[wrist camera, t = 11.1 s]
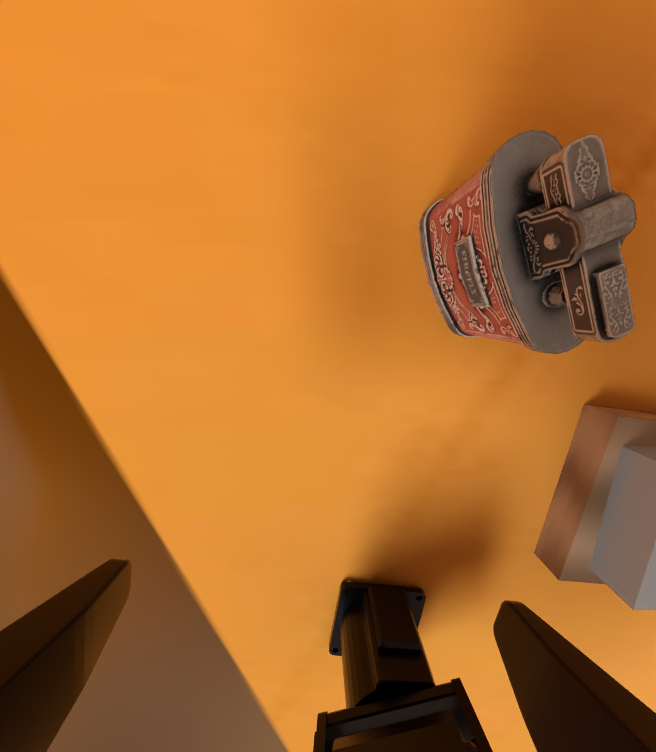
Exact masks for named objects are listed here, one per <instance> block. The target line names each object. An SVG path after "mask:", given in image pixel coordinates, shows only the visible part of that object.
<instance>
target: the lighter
mask: <svg viewBox="0 0 656 752" xmlns="http://www.w3.org/2000/svg"><path fill="white" fill-rule="evenodd" d="M636 220H637V217H636V210H635V203H634V201H633V200H632V199H631V197H630V196H628V195H627V194H625V193H620V192H617V191H616V190H615V189H614V188H613V187H611V184H610V178H609V172H608V166H607V160H606V154H605V148H604V145H603V141H602V140H601V138H600V137H599V136H597V135H593V134H592V135H588V136H584V137H582V138H579V139H577V140H576V141H574V142H572V143H571V144H569V145H567V146H566V147H564V148H562V146H561V144H560V143H559V141H558V140H557V139H556V137H554V136H553V135H551V134H549V133H547V132H546V131H538V130H531V131H527V132H523V133H520V134H518V135H516V136H515V137H513V138H511V139H510V140H508V141H507V142H506V143H505V144H503V145H502V146H501V147H500V148H499V149H498V150H496V151H495V152H494V154H493V155H492V156H491V157H490V158H489V159H488V160H487V162H486V164H485V166H484V167H483V168H482V169H481V170H480V171H478V172H477V173H476V174H475V175H473V176H472V177H471V178H470V179H469V180H467V181H466V182H465V183H464V184H462V185H461V186H460V187H459V188H457V189H456V190H455V191H454V192H453V193H451V194H450V195H449V196H448V197H446V198H443V199H440V200H439V201H437V202H435V203H434V204H433V205H431V206H430V207H429V208H428V209H427V210H426V211H425V212H424V214H423V215H422V217H421V220H420V223H419V233H420V241H421V250H422V257H423V262H424V266H425V270H426V274H427V279H428V283H429V286H430V288H431V291H432V293H433V296H434V298H435V301H436V303H437V306H438V308H439V310H440V312H441V314H442V316H443V317H444V319H445V321H446V323H447V325H448V327H449V329H450V330H451V331H452V332H453V333H455V334H457V335H459V336H464V337H476V336H481V337H486V338H492V339H497V340H503V341H508V342H514V343H519V344H523V345H524V346H525V347H527V348H529V349H531V350H533V351H538V352H543V353H552V354H558V353H562V352H566V351H569V350H571V349H573V348H574V347H576V346H578V345H579V344H580V343H581V342H582V341H583V340H589V341H597V342H605V343H609V342H613V341H616V340H618V339H621V338H622V337H624V336H626V335H627V334H628V333H629V332H631V331H632V330H633V328H634V315H633V309H632V303H631V297H630V291H629V285H628V278H627V272H626V266H625V263H623V258H622V252H621V244H622V242H623V241H624V238H625V237H626V236H627V235H628V234H629V233H630V232H631V231H632V230H633V228H634V226H635V223H636Z"/></svg>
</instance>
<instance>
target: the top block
mask: <svg viewBox="0 0 656 752" xmlns="http://www.w3.org/2000/svg"><path fill="white" fill-rule="evenodd" d="M589 568H590V569H591V570H592V571H593V572H594V573H595V574H596V575H597V576H598V577H599V578H600V579H601V580H602V581H603V582H604V583H605V584H606V585H608V586H609V587H610V588H611V589H612V590H613V591H614V592H615V593H616V594H617V595H618V596H619V597H620V598H621V599H622V600H623V601H624V602H625V603H627V604H628V605H629V606H630V607H631V608H632V609H633V610H656V447H638V446H622V448H621V452H620V455H619V459H618V463H617V467H616V470H615V474H614V478H613V481H612V485H611V489H610V492H609V496H608V500H607V503H606V507H605V511H604V514H603V518H602V522H601V526H600V529H599V533H598V537H597V540H596V544H595V548H594V551H593V555H592V559H591V562H590V566H589Z"/></svg>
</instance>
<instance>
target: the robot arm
mask: <svg viewBox="0 0 656 752" xmlns="http://www.w3.org/2000/svg"><path fill="white" fill-rule="evenodd" d="M131 570H132V563H131V561H130V560H128V559H120V558H112V559H109V560H107V561H106V562H104V563H103V564H101V565H100V566H98V567H96V568H95V569H93V570H92V571H90V572H89V573H87V574H86V575H84V576H83V577H81V578H80V579H78V580H77V581H75V582H74V583H72V584H71V585H69V586H68V587H66V588H65V589H63V590H61V591H60V592H58V593H57V594H55V595H54V596H52V597H51V598H49V599H48V600H46V601H45V602H43V603H41V604H40V605H38V606H37V607H35V608H34V609H32V610H31V611H29V612H28V613H26V614H25V615H23V616H22V617H20V618H19V619H17V620H16V621H14V622H13V623H11V624H9V625H8V626H7V627H5V628H3V629H2V630H0V752H47V750H48V749H49V747H50V745H51V744H52V742H53V740H54V739H55V737H56V735H57V733H58V732H59V730H60V728H61V727H62V725H63V723H64V722H65V720H66V718H67V716H68V715H69V713H70V711H71V709H72V708H73V706H74V705H75V703H76V701H77V699H78V697H79V696H80V694H81V692H82V690H83V689H84V687H85V685H86V683H87V681H88V679H89V677H90V675H91V673H92V671H93V669H94V667H95V665H96V663H97V660H98V659H99V657H100V654H101V653H102V651H103V649H104V646H105V644H106V642H107V640H108V638H109V636H110V634H111V632H112V630H113V628H114V626H115V624H116V622H117V620H118V618H119V616H120V614H121V612H122V610H123V608H124V605H125V604H126V601H127V599H128V596H129V593H130V587H131ZM347 589H348V590H347ZM425 599H426V596H425V594H424V591H423V590H422V589H420V588H412V587H400V586H389V585H377V584H365V583H354V582H345V583H343V584H342V585H341V586H340V591H339V596H338V601H337V606H336V611H335V616H334V621H333V626H332V631H331V636H330V641H329V652H330V654H332V655H337V656H342V663H343V675H344V686H345V698H346V709H343V710H339V711H335V712H331V713H327V711H326V712H322V713H318V719H317V732H315V736H314V749H313V752H493V751H492V749H491V747H490V745H489V742H488V740H487V738H486V736H485V733H484V731H483V729H482V727H481V725H480V722H479V720H478V718H477V716H476V713H475V711H474V709H473V707H472V704H471V702H470V700H469V698H468V696H467V693H466V691H465V689H464V687H463V684H462V682H461V680H460V678H456V679H452V680H451V682H449V683H445V684H441V685H437V686H436V685H435V682H434V679H433V676H432V673H431V669H430V666H429V663H428V660H427V657H426V654H425V651H424V648H423V645H422V642H421V639H420V636H419V632H418V625H419V622H420V618H421V614H422V611H423V607H424V603H425ZM493 630H494V636H495V640H496V643H497V645H498V648H499V651H500V654H501V657H502V660H503V662H504V665H505V668H506V671H507V674H508V677H509V680H510V682H511V685H512V688H513V691H514V694H515V697H516V700H517V702H518V705H519V708H520V711H521V713H522V716H523V719H524V721H525V724H526V726H527V728H528V731H529V733H530V736H531V738H532V740H533V743H534V745H535V747H536V750H537V752H656V713H655V712H653V711H652V710H651V709H650V708H649V707H647V706H646V705H645V704H644V703H643V702H641V701H640V700H639V699H638V698H636V697H635V696H634V695H633V694H632V693H630V692H629V691H628V690H627V689H626V688H624V687H623V686H622V685H621V684H620V683H618V682H617V681H616V680H615V679H614V678H612V677H611V676H610V675H609V674H607V673H606V672H605V671H604V670H603V669H601V668H600V667H599V666H598V665H597V664H595V663H594V662H593V661H592V660H591V659H589V658H588V657H587V656H586V655H585V654H583V653H582V652H581V651H580V650H578V649H577V648H576V647H575V646H574V645H572V644H571V643H570V642H569V641H568V640H566V639H565V638H564V637H563V636H562V635H560V634H559V633H558V632H557V631H556V630H554V629H553V628H552V627H551V626H549V625H548V624H547V623H546V622H545V621H543V620H542V619H541V618H540V617H539V616H537V615H536V614H535V613H534V612H533V611H531V610H530V609H529V608H528V607H526V606H525V605H524V604H523V603H521V602H517V601H507V600H506V601H504V602H503V603H502V604H501V607H500V609H499V612H498V615H497V617H496V620H495V623H494V627H493Z"/></svg>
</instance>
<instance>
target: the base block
mask: <svg viewBox="0 0 656 752" xmlns="http://www.w3.org/2000/svg"><path fill="white" fill-rule="evenodd" d="M622 446H638V447H656V413H648V412H641V411H633V410H626V409H618V408H610V407H603V406H595V405H587V404H584V407H583V410H582V413H581V415H580V418H579V421H578V424H577V427H576V430H575V433H574V436H573V439H572V442H571V445H570V448H569V451H568V454H567V457H566V460H565V463H564V466H563V469H562V472H561V475H560V478H559V481H558V484H557V487H556V490H555V493H554V496H553V499H552V502H551V505H550V508H549V511H548V514H547V517H546V520H545V523H544V526H543V528H542V531H541V534H540V537H539V540H538V543H537V546H536V549H535V552H534V553H535V554H536V555H537V557H538V558H539V559H540V560H541V561H542V562H543V563H544V564H545V565H546V566H547V568H548V569H549V570H550V571H551V572H552V573H553V574H554V575H555V576H556V578H557V579H558V580H562V581H574V582H587V583H599V584H605V583H604V582H603V581H602V580H601V579H600V578H599V577H598V576H597V575H596V574H595V573H594V572H593V571H592V570H591V569H590V568H589V566H590V562H591V559H592V555H593V551H594V548H595V544H596V540H597V537H598V533H599V529H600V526H601V522H602V518H603V514H604V511H605V507H606V503H607V500H608V496H609V492H610V489H611V485H612V481H613V478H614V474H615V470H616V467H617V463H618V459H619V455H620V452H621V448H622Z"/></svg>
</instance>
